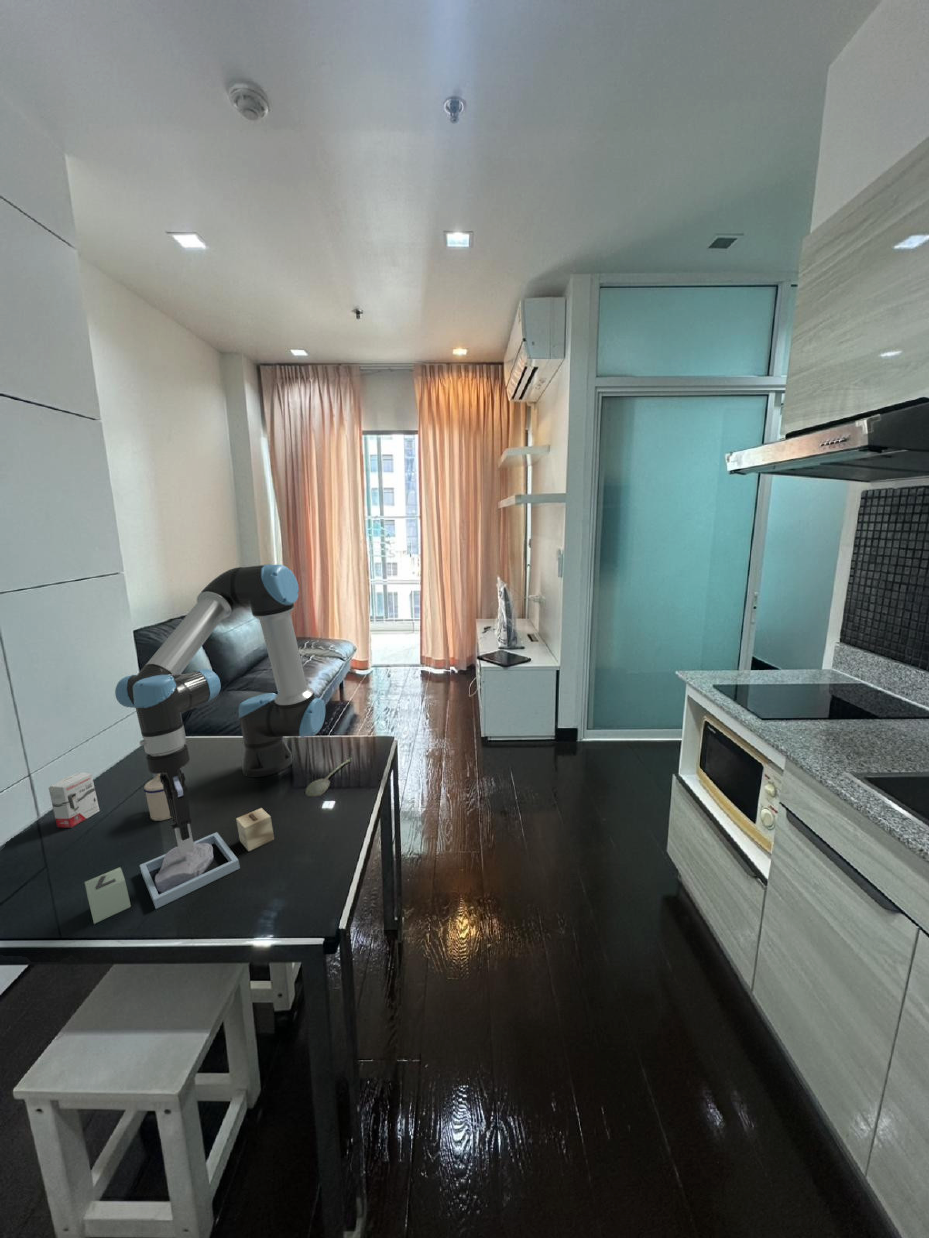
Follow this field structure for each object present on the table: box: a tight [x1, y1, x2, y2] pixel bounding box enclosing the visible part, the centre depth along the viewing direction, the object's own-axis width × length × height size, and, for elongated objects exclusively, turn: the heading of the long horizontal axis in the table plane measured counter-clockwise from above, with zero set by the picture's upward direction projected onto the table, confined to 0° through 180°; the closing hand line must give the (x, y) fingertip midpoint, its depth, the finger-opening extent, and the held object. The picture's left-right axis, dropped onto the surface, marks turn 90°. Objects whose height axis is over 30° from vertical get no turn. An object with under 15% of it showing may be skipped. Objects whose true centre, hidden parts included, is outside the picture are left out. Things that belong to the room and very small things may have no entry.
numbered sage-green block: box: [84, 866, 132, 925], centre depth 98 cm, size 6×6×6 cm
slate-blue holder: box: [139, 831, 241, 910], centre depth 108 cm, size 16×16×2 cm
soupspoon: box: [305, 757, 353, 797], centre depth 146 cm, size 22×3×7 cm
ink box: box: [48, 772, 101, 829], centre depth 134 cm, size 9×5×12 cm, turn 168°
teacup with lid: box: [143, 774, 172, 822], centre depth 134 cm, size 12×9×12 cm
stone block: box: [154, 843, 214, 894], centre depth 107 cm, size 12×5×10 cm
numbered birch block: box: [235, 807, 275, 852], centre depth 117 cm, size 6×6×6 cm
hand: (186, 850), depth 107 cm, fingers closed
